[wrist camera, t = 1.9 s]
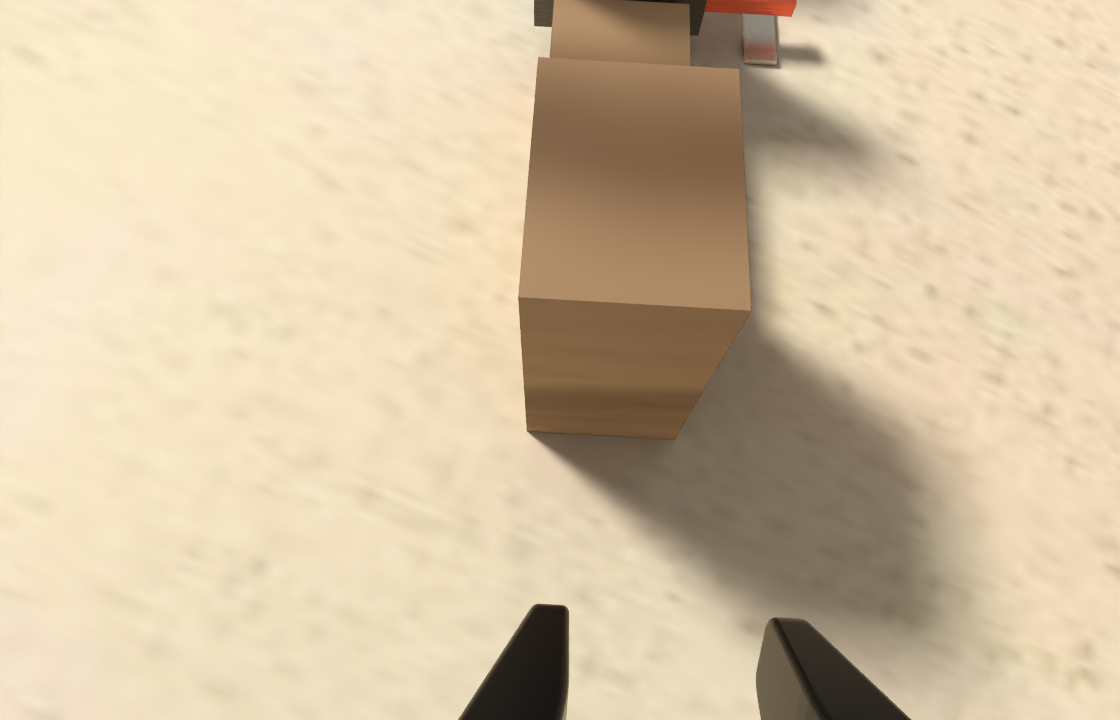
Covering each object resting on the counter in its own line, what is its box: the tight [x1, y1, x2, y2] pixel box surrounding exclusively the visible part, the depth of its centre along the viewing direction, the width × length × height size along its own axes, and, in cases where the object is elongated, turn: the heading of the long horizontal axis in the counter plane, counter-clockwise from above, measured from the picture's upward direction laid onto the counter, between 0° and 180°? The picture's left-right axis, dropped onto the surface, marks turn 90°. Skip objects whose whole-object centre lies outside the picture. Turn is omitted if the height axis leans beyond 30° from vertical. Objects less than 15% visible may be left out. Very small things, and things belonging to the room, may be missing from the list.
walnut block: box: [518, 0, 751, 440], centre depth 21 cm, size 14×4×9 cm, turn 177°
